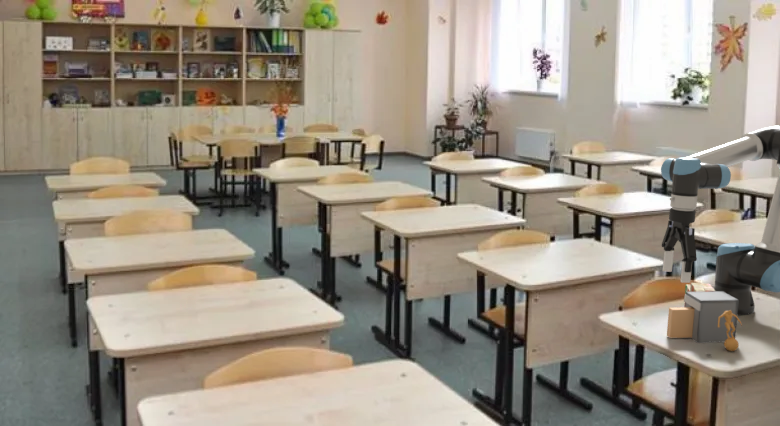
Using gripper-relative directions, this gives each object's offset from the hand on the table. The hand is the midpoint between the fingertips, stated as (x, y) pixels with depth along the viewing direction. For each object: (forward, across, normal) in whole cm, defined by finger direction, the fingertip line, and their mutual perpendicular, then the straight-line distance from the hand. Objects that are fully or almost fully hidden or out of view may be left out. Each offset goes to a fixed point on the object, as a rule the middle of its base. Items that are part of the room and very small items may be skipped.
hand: (675, 276), depth 260 cm
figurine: (+19, +14, +12) cm, 26 cm away
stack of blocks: (+19, -16, +16) cm, 29 cm away
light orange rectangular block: (+18, +2, +6) cm, 19 cm away
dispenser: (+18, +2, +12) cm, 22 cm away
